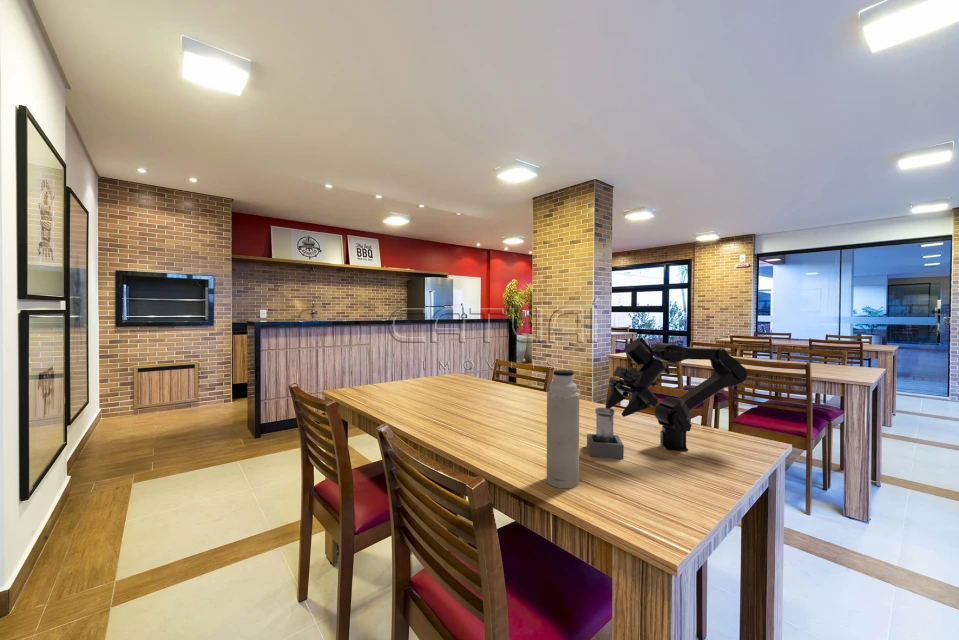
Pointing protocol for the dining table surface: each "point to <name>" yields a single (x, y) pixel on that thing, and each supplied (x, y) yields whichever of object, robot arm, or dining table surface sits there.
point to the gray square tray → (605, 447)
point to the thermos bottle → (563, 431)
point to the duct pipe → (604, 425)
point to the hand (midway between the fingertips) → (614, 411)
